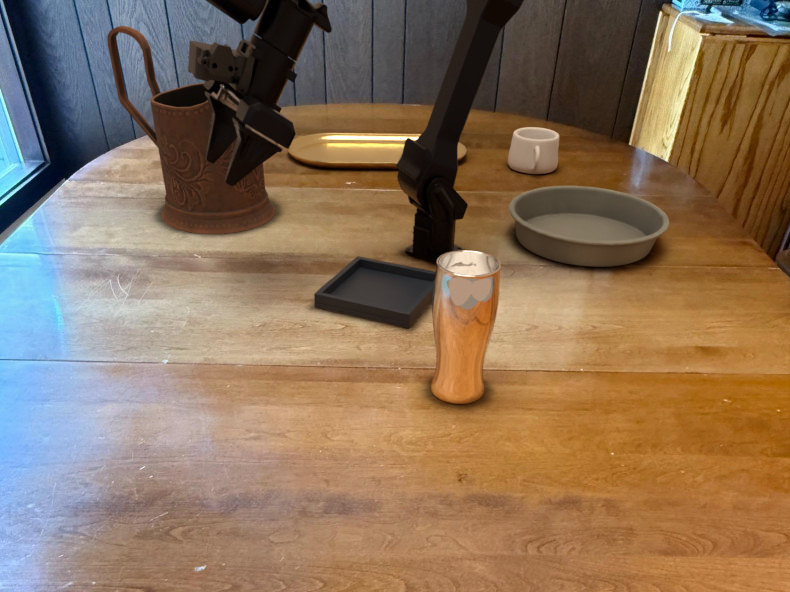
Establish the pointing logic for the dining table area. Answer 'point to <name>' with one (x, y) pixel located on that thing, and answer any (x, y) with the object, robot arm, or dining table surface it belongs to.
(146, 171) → the dining table surface
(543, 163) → the mug
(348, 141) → the serving platter
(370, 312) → the serving tray
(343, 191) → the dining table surface
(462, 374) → the beer glass
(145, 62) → the cup holder
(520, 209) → the cake pan
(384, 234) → the dining table surface
